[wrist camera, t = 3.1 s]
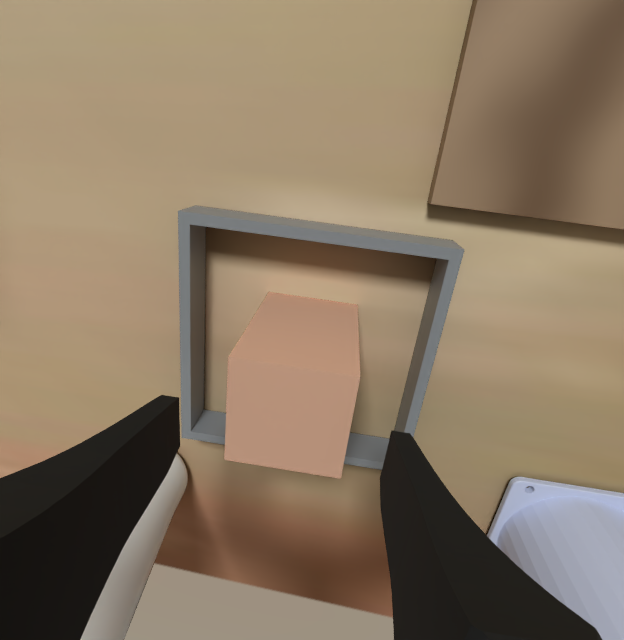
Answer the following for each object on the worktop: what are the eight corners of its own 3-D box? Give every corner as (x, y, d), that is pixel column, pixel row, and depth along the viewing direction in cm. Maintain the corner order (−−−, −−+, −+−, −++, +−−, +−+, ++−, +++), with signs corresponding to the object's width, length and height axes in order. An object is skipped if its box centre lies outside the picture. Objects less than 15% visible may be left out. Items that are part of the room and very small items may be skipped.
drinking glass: (139, 516, 27) (-88, 898, 13) (77, 442, 25) (-271, 802, 11) (222, 489, 25) (62, 895, 11) (163, 407, 23) (-120, 780, 9)
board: (799, -70, 13) (826, -83, 12) (659, 232, 17) (673, 235, 16) (495, -100, 13) (503, -114, 13) (427, 202, 17) (430, 204, 17)
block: (357, 304, 19) (360, 376, 13) (344, 381, 21) (340, 478, 15) (268, 291, 20) (228, 356, 13) (262, 369, 21) (224, 459, 15)
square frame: (452, 240, 18) (464, 249, 16) (399, 447, 22) (403, 473, 21) (195, 205, 18) (178, 210, 16) (195, 415, 23) (181, 437, 21)
